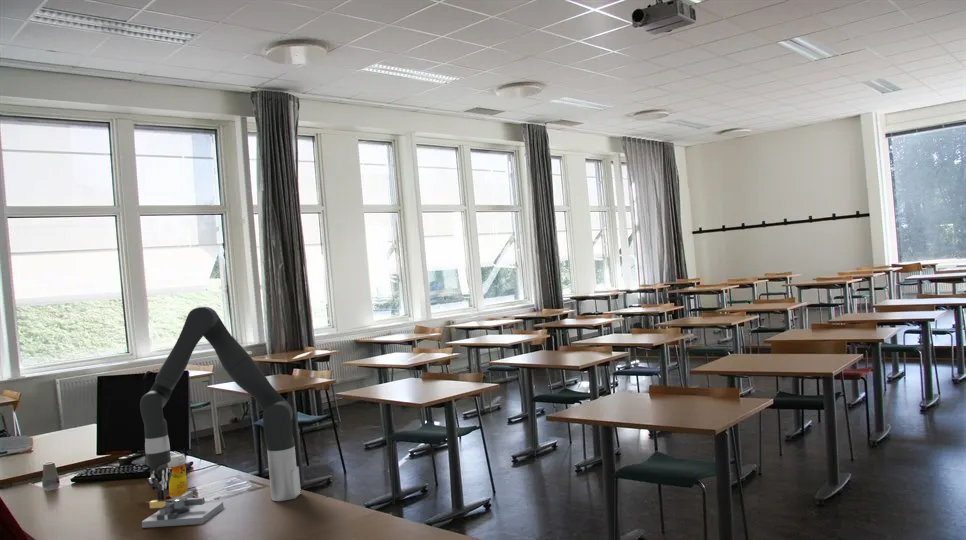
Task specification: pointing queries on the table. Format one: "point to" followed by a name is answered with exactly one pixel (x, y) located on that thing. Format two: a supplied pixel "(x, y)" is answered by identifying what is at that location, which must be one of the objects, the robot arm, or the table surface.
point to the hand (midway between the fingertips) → (162, 500)
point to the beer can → (177, 476)
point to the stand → (184, 516)
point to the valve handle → (177, 503)
